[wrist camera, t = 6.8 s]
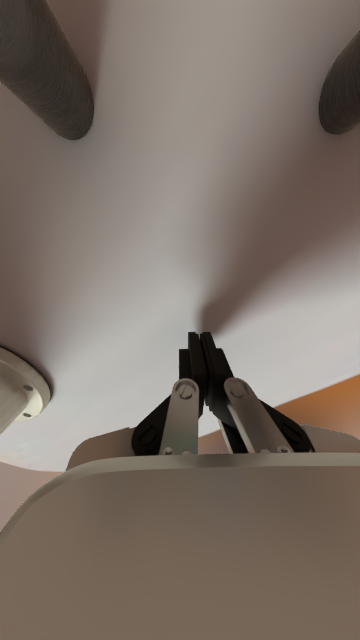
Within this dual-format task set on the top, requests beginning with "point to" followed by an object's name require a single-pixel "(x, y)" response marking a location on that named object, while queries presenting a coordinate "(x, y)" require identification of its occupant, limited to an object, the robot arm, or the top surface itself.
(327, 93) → the post
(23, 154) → the top surface
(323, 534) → the robot arm
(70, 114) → the post
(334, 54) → the top surface
